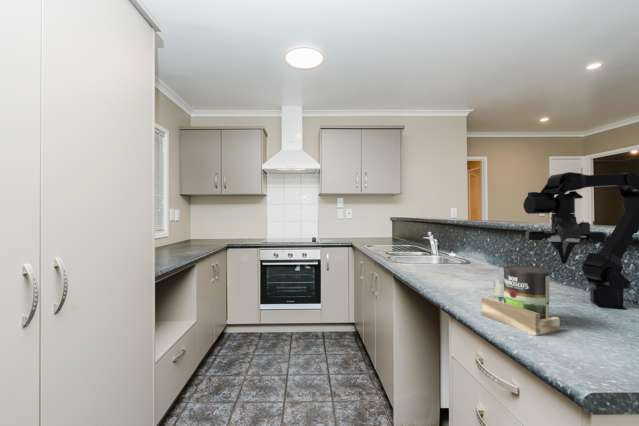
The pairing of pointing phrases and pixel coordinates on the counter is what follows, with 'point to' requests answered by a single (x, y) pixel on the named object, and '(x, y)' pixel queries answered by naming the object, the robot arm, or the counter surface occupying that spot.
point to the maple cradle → (518, 317)
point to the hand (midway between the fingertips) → (563, 263)
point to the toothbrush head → (499, 289)
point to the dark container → (527, 288)
